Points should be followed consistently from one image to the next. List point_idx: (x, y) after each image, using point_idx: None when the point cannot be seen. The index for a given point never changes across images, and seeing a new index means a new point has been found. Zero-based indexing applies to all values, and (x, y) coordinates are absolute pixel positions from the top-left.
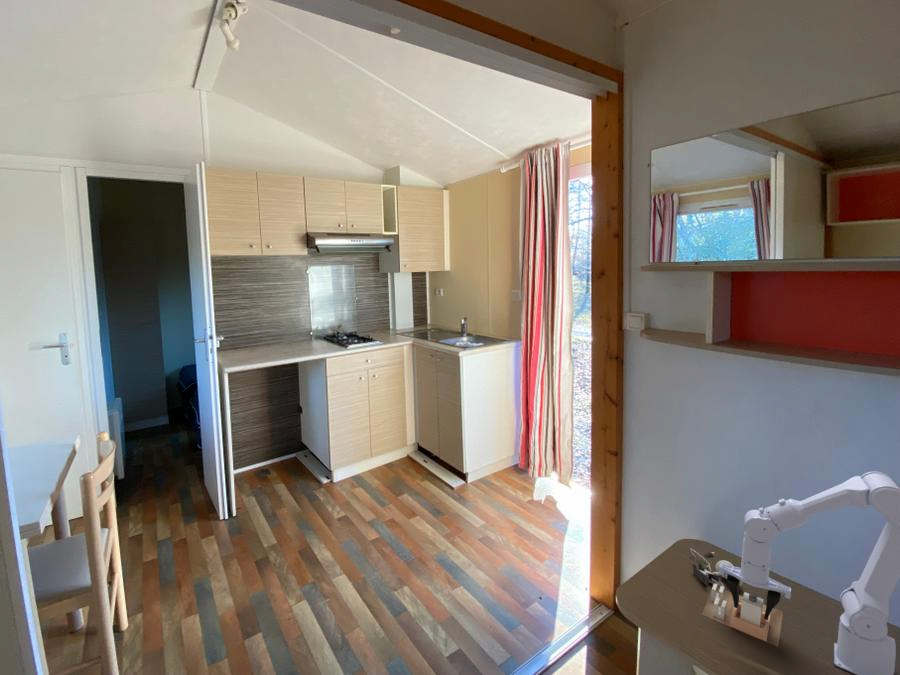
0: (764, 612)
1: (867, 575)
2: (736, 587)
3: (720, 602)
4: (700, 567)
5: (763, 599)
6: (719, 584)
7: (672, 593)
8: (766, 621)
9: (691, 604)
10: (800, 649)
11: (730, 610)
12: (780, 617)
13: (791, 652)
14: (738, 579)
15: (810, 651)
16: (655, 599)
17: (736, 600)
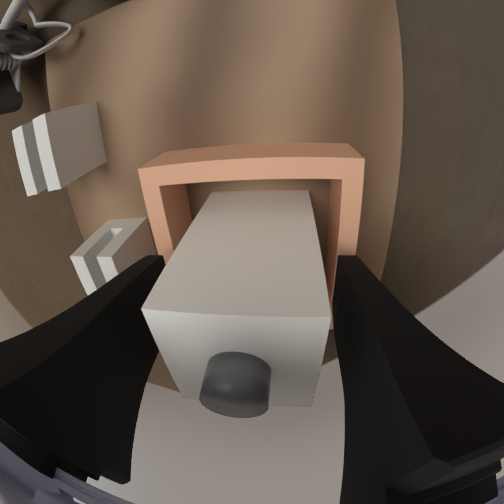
0: (326, 157)
1: None
2: (125, 470)
3: (97, 166)
4: None
5: (330, 315)
6: (43, 51)
7: (13, 212)
8: (342, 254)
9: (57, 224)
10: (452, 216)
11: None
12: (391, 40)
13: (419, 257)
14: (67, 460)
15: (479, 205)
16: (22, 273)
17: (153, 355)
